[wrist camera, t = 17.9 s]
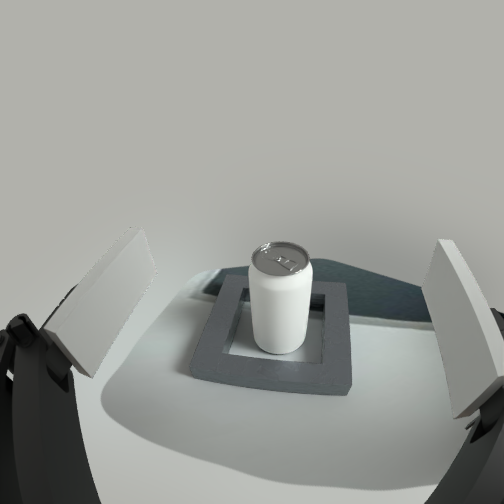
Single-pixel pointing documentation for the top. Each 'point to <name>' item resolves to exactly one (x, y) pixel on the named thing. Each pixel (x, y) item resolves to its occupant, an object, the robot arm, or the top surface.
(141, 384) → the top surface
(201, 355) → the jig
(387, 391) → the top surface
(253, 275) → the can
